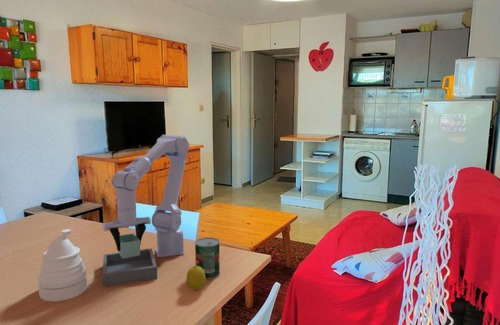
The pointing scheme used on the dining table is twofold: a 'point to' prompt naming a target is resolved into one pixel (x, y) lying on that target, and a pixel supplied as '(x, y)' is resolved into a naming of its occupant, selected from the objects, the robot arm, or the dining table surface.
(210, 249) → the canned tomato
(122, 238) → the teal crate
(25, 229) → the dining table surface
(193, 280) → the lemon
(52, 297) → the honey pot
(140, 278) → the charcoal crate
